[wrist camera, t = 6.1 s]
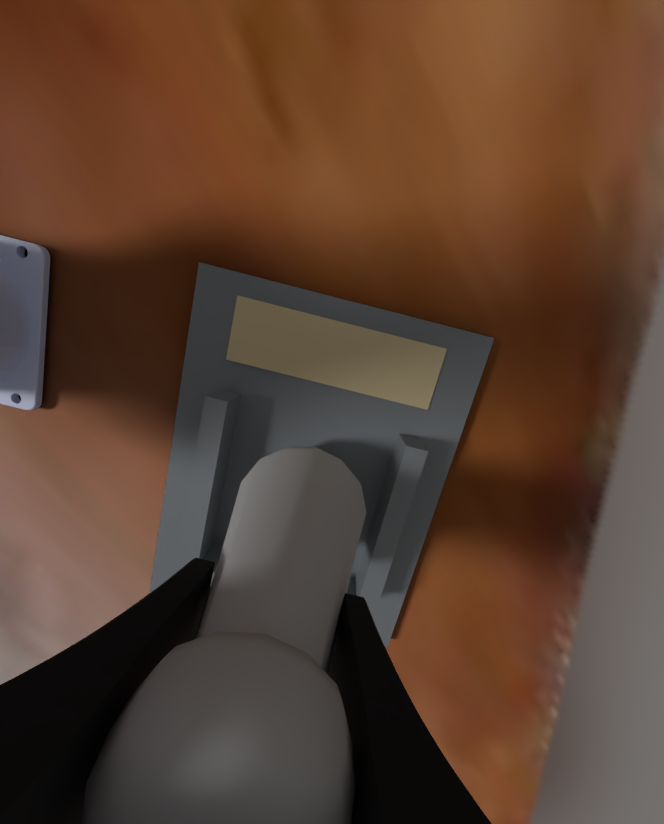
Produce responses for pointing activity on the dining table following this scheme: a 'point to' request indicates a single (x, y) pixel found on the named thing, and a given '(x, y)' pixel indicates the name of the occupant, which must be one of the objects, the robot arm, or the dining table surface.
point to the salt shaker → (250, 671)
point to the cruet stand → (316, 418)
